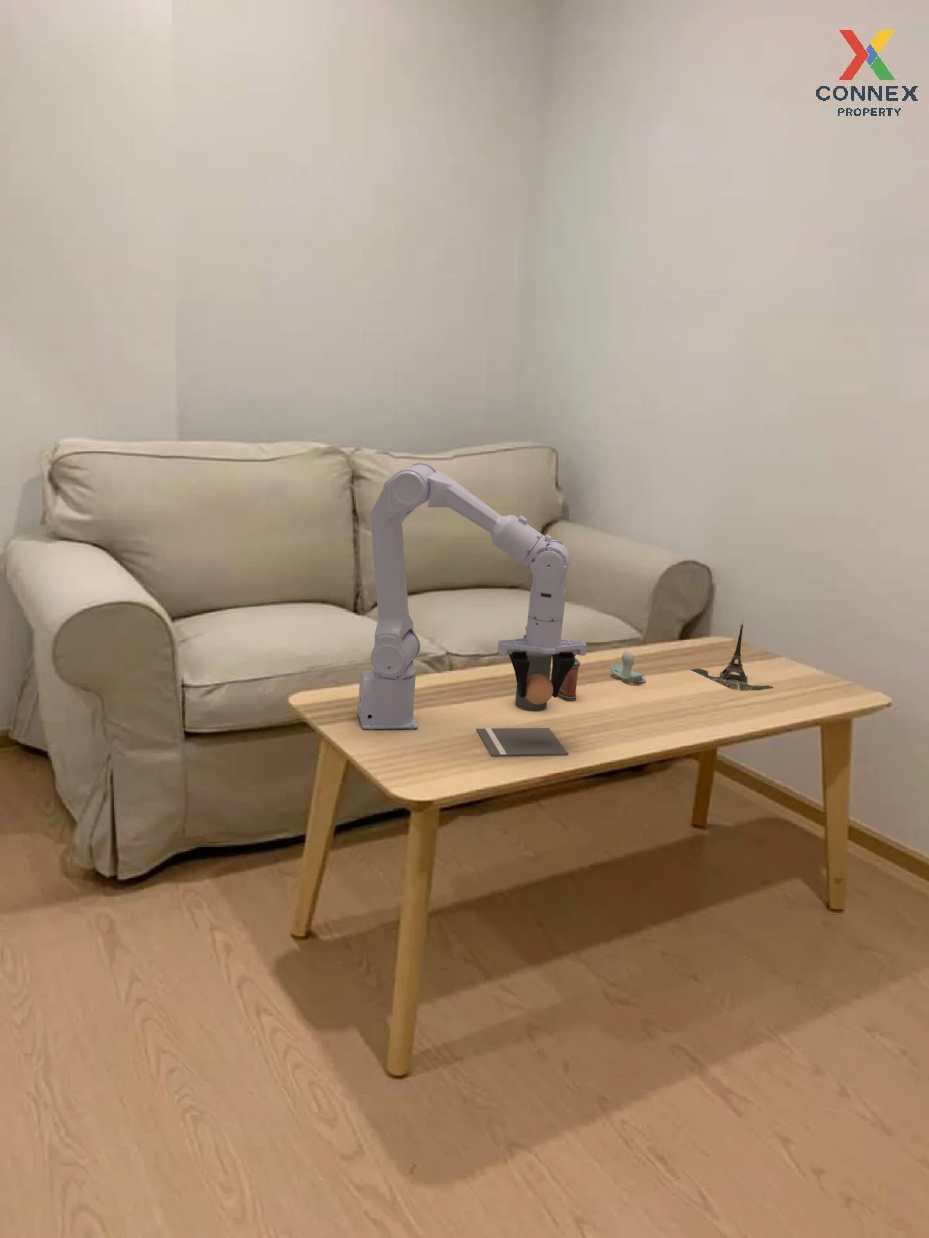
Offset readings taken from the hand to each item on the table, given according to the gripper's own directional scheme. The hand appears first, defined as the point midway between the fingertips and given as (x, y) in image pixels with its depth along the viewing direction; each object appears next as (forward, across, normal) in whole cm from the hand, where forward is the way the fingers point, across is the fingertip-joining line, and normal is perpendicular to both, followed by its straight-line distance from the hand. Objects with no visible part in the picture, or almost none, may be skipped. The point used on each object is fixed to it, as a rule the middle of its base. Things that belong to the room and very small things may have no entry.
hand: (537, 695), depth 169 cm
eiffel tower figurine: (+9, +52, +32) cm, 62 cm away
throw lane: (+8, -2, 0) cm, 9 cm away
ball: (+1, 0, 0) cm, 1 cm away
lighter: (+9, +12, +23) cm, 28 cm away
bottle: (+9, +4, +17) cm, 20 cm away
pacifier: (+9, +30, +32) cm, 44 cm away
